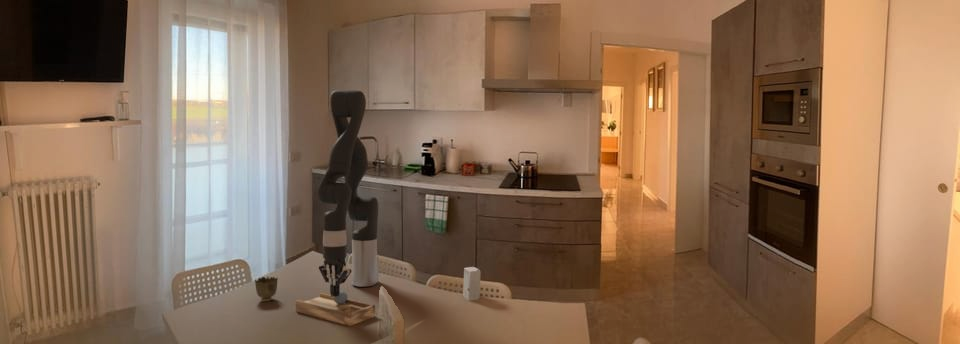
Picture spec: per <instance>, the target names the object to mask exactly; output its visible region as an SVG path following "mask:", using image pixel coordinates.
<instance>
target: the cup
mask: <svg viewBox="0 0 960 344" xmlns="http://www.w3.org/2000/svg"><path fill="white" fill-rule="evenodd" d="M278 279H279V278H278V277H275V276H271V277H269V276H267V277H265V276H262V277H258V280H257V279H254V282H255V283H254V284H255V290H256V294H257V296H258V297H259V298H260V300H261V302H262V303H268V302H272V300H273V296H275V295H276V293H277V288H278Z"/></svg>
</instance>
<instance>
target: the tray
mask: <svg viewBox="0 0 960 344" xmlns="http://www.w3.org/2000/svg"><path fill="white" fill-rule="evenodd" d="M295 312H297V313H300V314H304V315H307V316H308V315H309V316H312V317H315V318H319V319H321V320H327V321H331V322H334V323H337V324H342V325H345V326H349V327H351V326H354V325H356V324H359V323H361V322H364V321H367V320H369V319H372V318H374V317H376V305H375V304H371V303H367V302H363V301H358V300H354V299H350V298H347V301H346V302H345V303H344V304H337V303H336V302H335V301H334V297H333V296H331V294H330V293H329V294H328V293H324V292H320V293H319V296H317V297H315V298H310V299H307V300H304V301H303V300H299V299H296V300H295Z"/></svg>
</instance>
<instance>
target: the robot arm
mask: <svg viewBox="0 0 960 344" xmlns="http://www.w3.org/2000/svg"><path fill="white" fill-rule="evenodd" d="M329 98H330V99H329V100H330V102H329V103H330V111H331V114H332V115H331V116H332V118H333V119H332V120H333V122H334V127H335V131H336V134H337V140H336V141H335V142H334V144H333V146H332V147H331V149H330V153H329V160H328V166H327V169H326V172H325V174H324V176H323V178H322V180H321V182H320V184H319V186H318V189H317V198H318V200H319V201H320V202H321V203H322V204H325V205H336V208H335V210H330V211H326V212H325V213H324V214H323V233H322V234H323V235H322V258H323V259H324V261H323V264H322V265H319V266H318V269H319V272H320V274H321V275H322V278H323V280H324V282H326V283H328V284H329V292H330V293H329V295H331V296H333V297H336V296H338V295H339V293H340V291H341V290H340V289H341V288H340V286H341V284H345V282H346V281H347V279H348V278H349V276H350V275H351V278H352V279H351V284H352V285H353V286H355V287H361V288H362V287H373V286H375V285H376V284H377V283H379V282H380V281H379V279H380V278H379V277H380V276H379V275H380V273H379V265H380V264H379V263H380V260H379V257H378V220H379V219H378V217H379V202H378V199H377V197H374V196H359V195H358V188H359V185H360V183H361V181H362V180H363V178H364V176H365V175H366V173H367V171H368V168H369V160H368V154H367V153H368V152H367V148H366V147H365V145H364V142H362V140H360V138H359V137H358V136H359V133H360V129H361V126H362V123H363V119H364V116H365V112H366V107H367V106H366V105H367V100H366V96H365V94H364V92H363V91H361V90H357V89H356V90H353V89H352V90H351V89H350V90H349V89H339V90H338V89H336V90H334V91H332V92H331V94H330V97H329ZM348 118H350V120H348ZM341 178H344V182H337V181H338V180H339V179H341ZM347 214H348V217H349V219H350V220H351V221H355V222H366V225H365V226H363V227H362V228H359V229H356V230H354V231H353V232H352V234H351V252H352V253H351V268H348V267H347V263H346V258H347V256H348V253H347V250H348V248H347V247H348V244H347V241H348V239H347V237H348V236H347Z"/></svg>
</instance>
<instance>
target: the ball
mask: <svg viewBox="0 0 960 344" xmlns="http://www.w3.org/2000/svg"><path fill="white" fill-rule="evenodd" d="M347 299H348V294H347V293H346V292H345V291H343V290H340V293H339V295H338V296H336V297H334V301H335V302H336V303H337V304H344V303H345V302H346V301H347Z"/></svg>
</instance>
